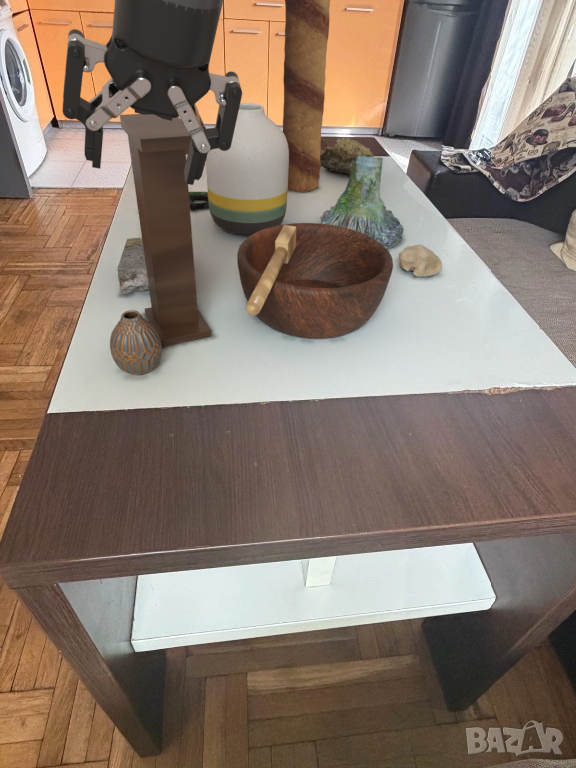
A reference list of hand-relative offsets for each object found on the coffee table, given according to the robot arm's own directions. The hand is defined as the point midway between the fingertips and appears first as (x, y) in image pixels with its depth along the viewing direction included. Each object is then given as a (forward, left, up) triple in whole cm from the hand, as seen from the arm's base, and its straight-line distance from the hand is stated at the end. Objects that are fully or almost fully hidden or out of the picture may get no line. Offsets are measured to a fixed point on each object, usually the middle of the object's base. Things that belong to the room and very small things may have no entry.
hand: (143, 171), depth 50 cm
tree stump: (+36, +58, -30) cm, 75 cm away
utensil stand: (-1, +19, -30) cm, 36 cm away
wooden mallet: (+13, +18, -19) cm, 29 cm away
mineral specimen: (+40, +98, -31) cm, 110 cm away
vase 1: (-6, +9, -31) cm, 32 cm away
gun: (-5, +73, -31) cm, 79 cm away
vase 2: (+11, +60, -30) cm, 68 cm away
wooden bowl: (+21, +25, -31) cm, 45 cm away
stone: (+44, +39, -31) cm, 66 cm away
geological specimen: (-6, +36, -31) cm, 48 cm away
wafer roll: (+25, +87, -31) cm, 96 cm away
